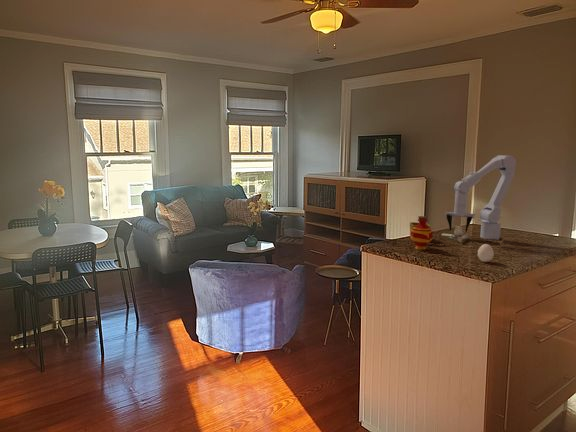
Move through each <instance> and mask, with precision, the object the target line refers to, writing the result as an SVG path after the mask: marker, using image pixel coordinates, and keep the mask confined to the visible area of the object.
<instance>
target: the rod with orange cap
mask: <svg viewBox="0 0 576 432" xmlns="http://www.w3.org/2000/svg"><path fill="white" fill-rule="evenodd" d="M462 235H463V236H462V237H458V238H457V239H456V240H457V242H461V241H464V240H463V239H465V238H466V237H467V238H468V237H469V235H468V234H462Z"/></svg>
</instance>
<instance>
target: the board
mask: <svg viewBox="0 0 576 432" xmlns="http://www.w3.org/2000/svg"><path fill="white" fill-rule="evenodd" d="M448 239H455V240H458V239H457V238H452V236H448ZM466 240H467V241H468V237H466V238H465V239H463V240H462V241H466Z"/></svg>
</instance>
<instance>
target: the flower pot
mask: <svg viewBox="0 0 576 432" xmlns="http://www.w3.org/2000/svg"><path fill="white" fill-rule="evenodd" d="M418 224H419V222H413V221H412V222H409V234H410V233H411V229H412V228H413V227H415V226H417V225H418ZM426 225H427V226H429V227H430V228H431V225H430V224H429V223H427V222H426Z"/></svg>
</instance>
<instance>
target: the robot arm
mask: <svg viewBox="0 0 576 432" xmlns="http://www.w3.org/2000/svg"><path fill="white" fill-rule="evenodd" d="M516 165H517V160H516V158H515V157H514V156H513V155H505V154H504V155H502V154H498V155H496V156H495V157H493V158H491V160H490V161H489V162H487V163H486V164H485V165H483V167H481V168H480V169H478V170H477V171H473V172H472V171H470V172H469V173H468V175H467V176H465V177H463V178H462V179H461V180H458V181H456V183H455V184H454V186H453V190H454V192H455V193H454V195H455V196H454V206H453V211H445V212H444V217H446V220H447V223H448V225H449V226H448V228H449V231H452V229H453V228H452V222H453V217H458V218H466V225H465V232H466V233H467V232H468V228H469V226H470V223H472V221H473V219H475V218H476V213H468V212H467V203H468V193H469V192H470V190H471V188H472V187H474V186H475V185H476V184H477V183H479V182H481V180H482V177H484V176H485V175H487V174H488V173H489V172H492V171H493V170H494V169H497V170H499V171H500V174H501V177H500V179H499V181H498V182H497V185H496V187H495V189H494V191H493V194H492V196H491V198H490V199H489V202H488V203H487V204H486V205H484V207H483V208H482V209H481V210H480V212H479V218H480V219H481V224H480V238H482V239H486V240H499V241H500V238H501V227H502V226H501V225H502V223H499V221H500V219H501V212H502V208H501V205H502V203H503V200H504V198H505V196H506V194H507V192H508V190H509V188H510V186H511V185H512V182H513V179H514V177H515V174H516V169H515V168H516Z"/></svg>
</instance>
